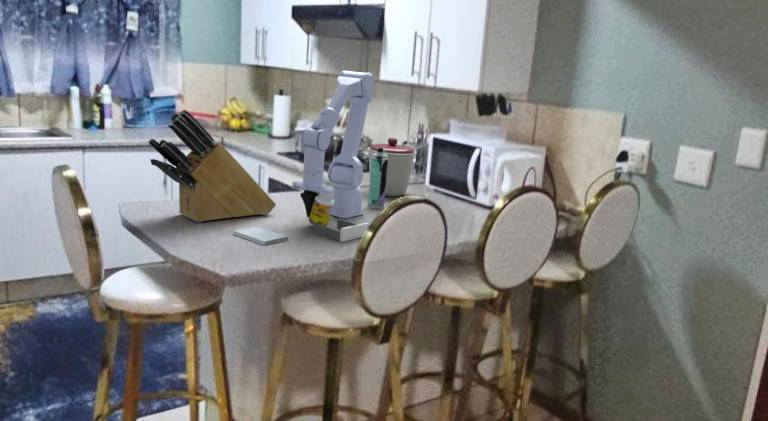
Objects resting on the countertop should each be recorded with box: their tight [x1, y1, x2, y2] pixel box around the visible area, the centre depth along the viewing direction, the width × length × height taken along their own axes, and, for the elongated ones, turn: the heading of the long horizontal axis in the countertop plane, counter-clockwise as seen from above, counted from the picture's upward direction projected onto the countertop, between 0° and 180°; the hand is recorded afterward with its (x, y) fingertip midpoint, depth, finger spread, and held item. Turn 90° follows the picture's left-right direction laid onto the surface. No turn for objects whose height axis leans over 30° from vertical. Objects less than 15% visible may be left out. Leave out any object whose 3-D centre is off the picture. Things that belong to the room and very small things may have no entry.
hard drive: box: [232, 226, 290, 246], centre depth 165 cm, size 2×8×12 cm
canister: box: [367, 136, 417, 197], centre depth 231 cm, size 18×18×21 cm
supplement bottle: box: [308, 192, 334, 227], centre depth 178 cm, size 6×6×10 cm
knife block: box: [147, 108, 277, 223], centre depth 178 cm, size 11×35×31 cm, turn 133°
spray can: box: [367, 148, 388, 210], centre depth 209 cm, size 6×6×20 cm
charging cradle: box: [312, 217, 370, 243], centre depth 174 cm, size 11×11×4 cm
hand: (310, 217), depth 181 cm, fingers closed
